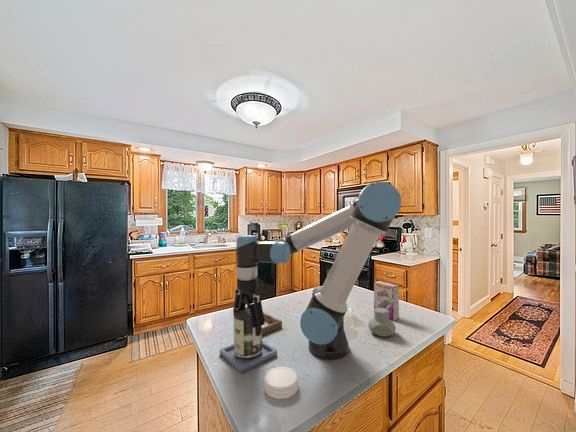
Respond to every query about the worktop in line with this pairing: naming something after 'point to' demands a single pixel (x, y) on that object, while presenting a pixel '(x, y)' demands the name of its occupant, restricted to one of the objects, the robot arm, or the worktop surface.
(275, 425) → the worktop surface
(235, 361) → the tray
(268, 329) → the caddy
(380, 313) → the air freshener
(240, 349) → the coffee can
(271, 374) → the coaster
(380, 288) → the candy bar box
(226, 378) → the worktop surface
